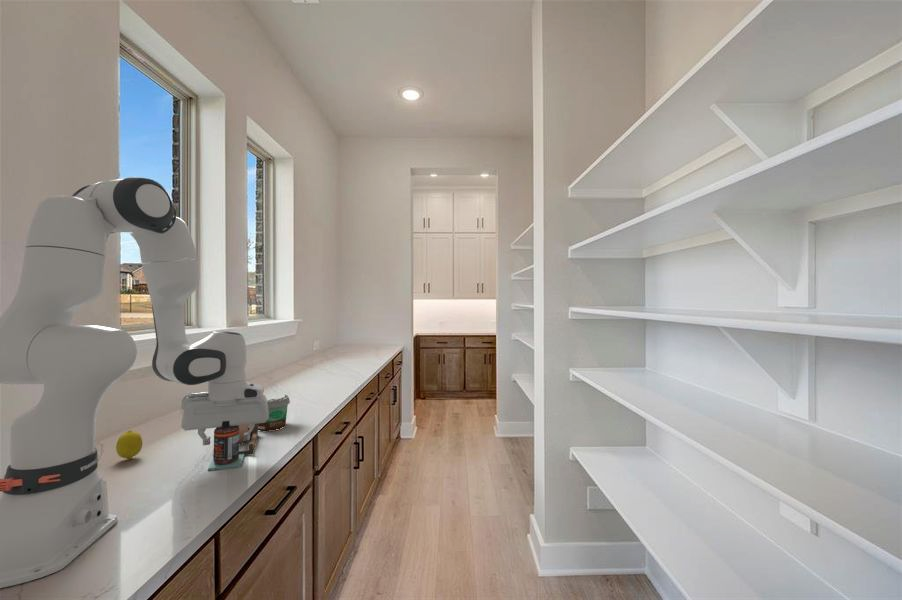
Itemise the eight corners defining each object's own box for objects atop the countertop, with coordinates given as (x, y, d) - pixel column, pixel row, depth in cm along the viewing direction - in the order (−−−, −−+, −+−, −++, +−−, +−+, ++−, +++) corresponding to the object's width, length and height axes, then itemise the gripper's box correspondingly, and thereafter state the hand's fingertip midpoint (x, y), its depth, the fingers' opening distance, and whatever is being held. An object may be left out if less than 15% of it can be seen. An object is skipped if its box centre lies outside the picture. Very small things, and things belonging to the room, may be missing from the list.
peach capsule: (247, 444, 118) (247, 414, 118) (228, 446, 116) (228, 416, 116) (248, 438, 123) (249, 410, 123) (230, 440, 121) (231, 411, 121)
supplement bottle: (207, 463, 102) (208, 420, 102) (227, 455, 108) (227, 414, 108) (225, 466, 101) (225, 423, 101) (244, 458, 106) (244, 416, 106)
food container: (264, 435, 126) (264, 404, 126) (253, 431, 129) (253, 401, 129) (297, 425, 136) (297, 396, 136) (286, 422, 139) (286, 394, 139)
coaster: (240, 466, 102) (241, 464, 102) (207, 470, 99) (207, 468, 99) (244, 455, 109) (244, 453, 109) (213, 459, 106) (213, 457, 106)
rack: (252, 454, 110) (253, 436, 110) (213, 459, 106) (213, 441, 106) (257, 435, 125) (257, 420, 125) (223, 439, 122) (223, 423, 122)
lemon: (127, 464, 103) (127, 434, 103) (110, 462, 104) (110, 432, 104) (147, 456, 108) (147, 427, 108) (131, 454, 109) (131, 426, 109)
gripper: (178, 396, 98) (177, 451, 97) (268, 390, 105) (267, 441, 105) (184, 391, 103) (184, 443, 103) (269, 385, 111) (268, 433, 111)
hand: (227, 442), depth 104 cm, fingers open, 8 cm apart
